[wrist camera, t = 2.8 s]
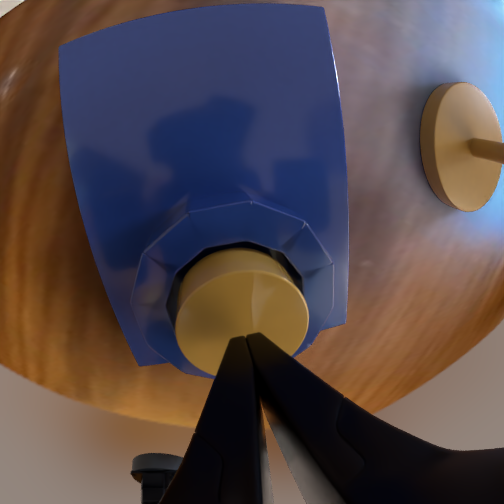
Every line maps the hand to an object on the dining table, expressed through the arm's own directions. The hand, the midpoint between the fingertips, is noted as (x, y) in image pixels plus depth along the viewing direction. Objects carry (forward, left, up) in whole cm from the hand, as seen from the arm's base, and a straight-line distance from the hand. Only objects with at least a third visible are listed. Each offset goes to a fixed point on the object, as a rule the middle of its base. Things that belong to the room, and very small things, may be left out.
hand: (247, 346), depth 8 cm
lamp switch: (0, 0, -2) cm, 2 cm away
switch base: (+4, 0, -6) cm, 7 cm away
